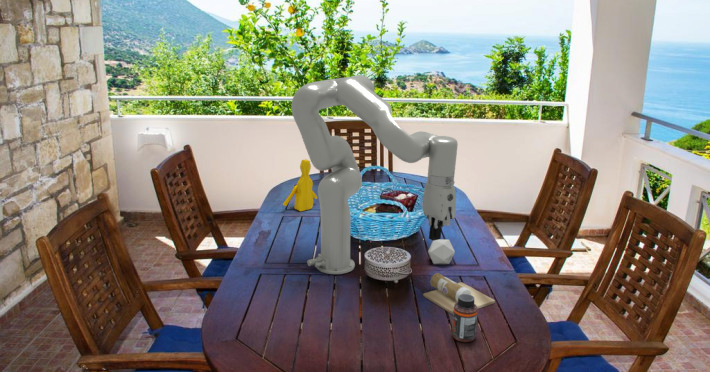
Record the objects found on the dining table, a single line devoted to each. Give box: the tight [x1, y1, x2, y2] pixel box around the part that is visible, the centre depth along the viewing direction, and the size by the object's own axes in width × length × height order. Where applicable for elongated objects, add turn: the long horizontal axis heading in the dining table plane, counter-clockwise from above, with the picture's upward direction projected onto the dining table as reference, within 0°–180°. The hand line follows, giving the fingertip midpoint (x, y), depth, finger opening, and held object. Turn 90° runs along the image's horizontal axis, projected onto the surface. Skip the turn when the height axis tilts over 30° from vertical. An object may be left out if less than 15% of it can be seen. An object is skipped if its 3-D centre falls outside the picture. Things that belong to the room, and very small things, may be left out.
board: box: [422, 281, 496, 315], centre depth 167 cm, size 15×14×1 cm
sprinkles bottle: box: [429, 272, 471, 302], centre depth 168 cm, size 5×5×13 cm
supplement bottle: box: [451, 294, 479, 343], centre depth 146 cm, size 6×6×11 cm
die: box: [427, 238, 456, 265], centre depth 192 cm, size 8×9×10 cm
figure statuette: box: [282, 158, 318, 212], centre depth 240 cm, size 18×8×22 cm, turn 131°
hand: (434, 238), depth 170 cm, fingers closed
